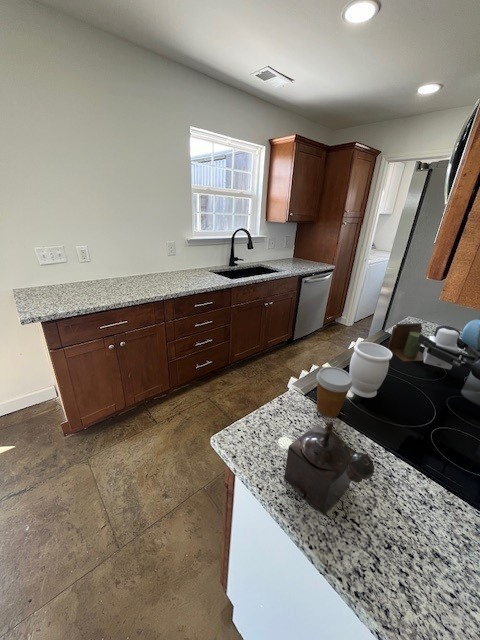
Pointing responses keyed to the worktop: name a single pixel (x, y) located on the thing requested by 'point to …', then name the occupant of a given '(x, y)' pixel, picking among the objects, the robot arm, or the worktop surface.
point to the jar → (368, 368)
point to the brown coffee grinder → (324, 467)
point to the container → (442, 345)
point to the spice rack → (404, 340)
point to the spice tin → (412, 345)
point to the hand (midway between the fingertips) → (433, 337)
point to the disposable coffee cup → (332, 390)
